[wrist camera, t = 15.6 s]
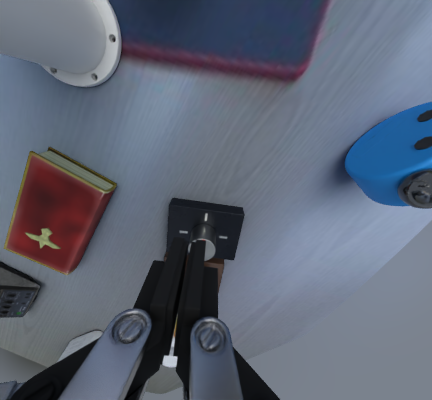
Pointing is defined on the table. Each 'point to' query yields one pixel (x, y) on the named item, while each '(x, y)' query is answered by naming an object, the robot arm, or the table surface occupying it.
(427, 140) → the alarm clock
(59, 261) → the hardcover book
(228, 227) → the control panel
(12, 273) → the electronic device
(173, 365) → the supplement bottle
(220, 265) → the button block
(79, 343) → the photo printer
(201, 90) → the table surface
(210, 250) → the timer knob
